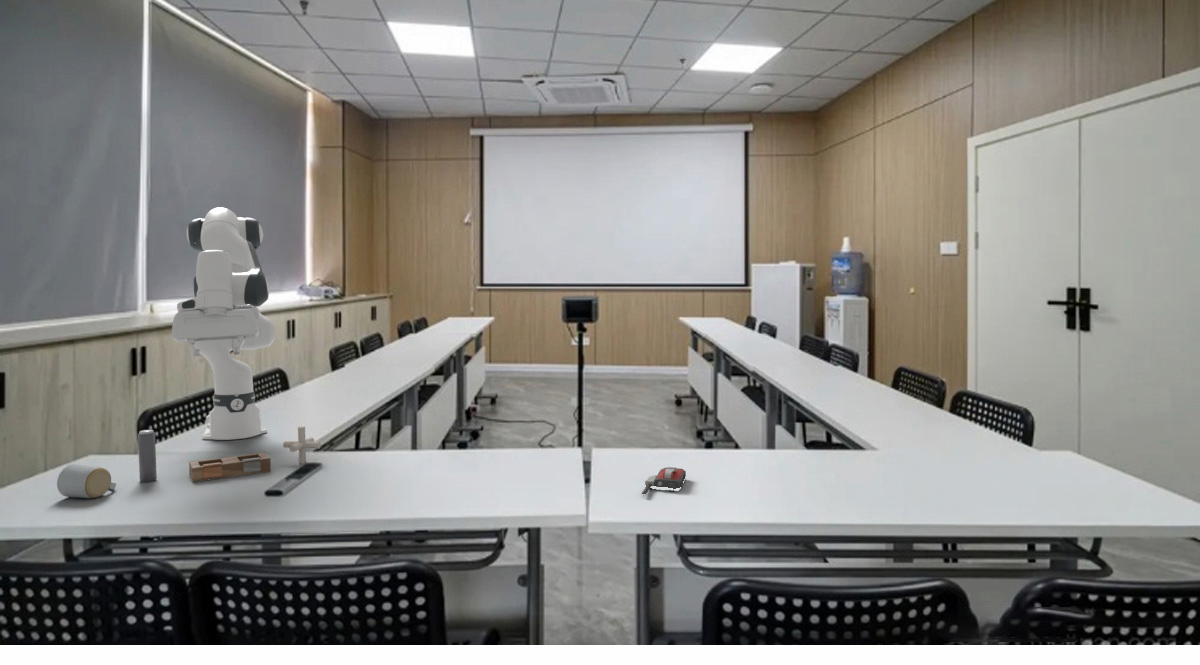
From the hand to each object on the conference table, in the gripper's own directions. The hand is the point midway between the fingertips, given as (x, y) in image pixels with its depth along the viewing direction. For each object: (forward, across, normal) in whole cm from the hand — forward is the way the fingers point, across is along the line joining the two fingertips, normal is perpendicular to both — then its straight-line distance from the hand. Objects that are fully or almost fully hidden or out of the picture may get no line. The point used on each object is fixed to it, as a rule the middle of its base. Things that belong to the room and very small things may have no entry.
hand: (217, 355), depth 186 cm
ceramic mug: (+33, +27, +2) cm, 43 cm away
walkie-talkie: (+55, -100, +42) cm, 122 cm away
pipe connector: (+29, -19, -12) cm, 37 cm away
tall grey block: (+30, +17, -7) cm, 35 cm away
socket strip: (+30, -1, -7) cm, 31 cm away
